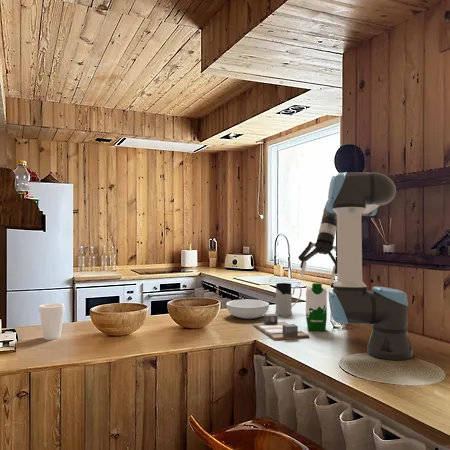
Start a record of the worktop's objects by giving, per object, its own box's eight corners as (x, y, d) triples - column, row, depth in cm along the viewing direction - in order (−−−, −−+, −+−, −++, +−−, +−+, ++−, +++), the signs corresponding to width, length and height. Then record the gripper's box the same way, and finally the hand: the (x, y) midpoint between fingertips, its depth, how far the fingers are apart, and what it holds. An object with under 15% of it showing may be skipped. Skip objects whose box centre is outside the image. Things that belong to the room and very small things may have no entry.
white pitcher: (272, 312, 231) (272, 283, 231) (297, 310, 235) (297, 282, 235) (279, 315, 222) (279, 285, 222) (305, 314, 227) (305, 284, 227)
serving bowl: (219, 314, 225) (219, 301, 225) (256, 311, 234) (256, 298, 233) (237, 323, 206) (238, 308, 206) (277, 319, 215) (277, 305, 215)
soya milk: (306, 331, 191) (307, 284, 191) (305, 326, 200) (305, 281, 200) (327, 331, 191) (328, 284, 190) (325, 326, 200) (325, 281, 199)
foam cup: (55, 341, 175) (55, 308, 175) (34, 340, 177) (34, 307, 176) (69, 335, 184) (69, 303, 184) (48, 334, 186) (48, 302, 186)
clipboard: (309, 337, 181) (309, 325, 181) (274, 340, 177) (274, 327, 177) (284, 323, 205) (284, 313, 205) (253, 325, 201) (253, 314, 201)
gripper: (354, 241, 206) (346, 285, 198) (302, 234, 216) (291, 275, 209) (353, 235, 199) (344, 280, 192) (298, 228, 210) (288, 270, 203)
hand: (316, 278), depth 201 cm, fingers open, 13 cm apart
